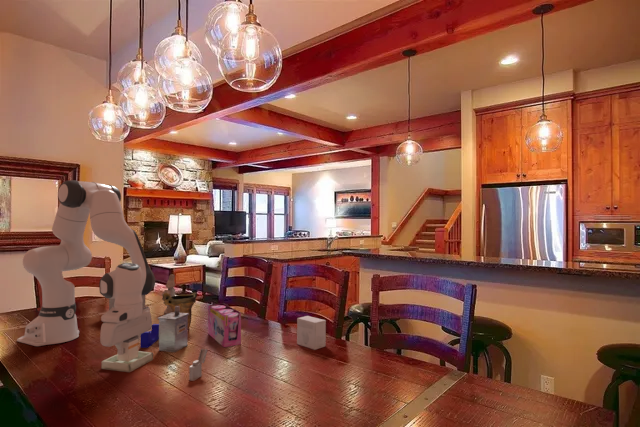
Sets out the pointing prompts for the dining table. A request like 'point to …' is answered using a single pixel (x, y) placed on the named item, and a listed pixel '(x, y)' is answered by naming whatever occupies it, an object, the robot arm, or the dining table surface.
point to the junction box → (173, 331)
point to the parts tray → (127, 366)
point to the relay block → (129, 349)
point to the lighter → (197, 366)
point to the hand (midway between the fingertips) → (128, 350)
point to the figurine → (169, 291)
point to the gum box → (224, 324)
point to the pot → (181, 303)
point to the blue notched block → (150, 337)
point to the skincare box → (311, 332)
